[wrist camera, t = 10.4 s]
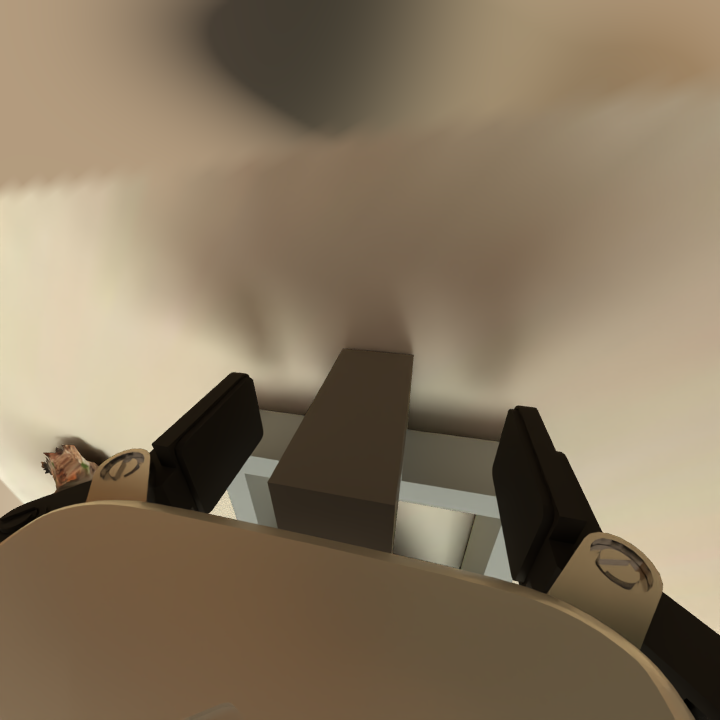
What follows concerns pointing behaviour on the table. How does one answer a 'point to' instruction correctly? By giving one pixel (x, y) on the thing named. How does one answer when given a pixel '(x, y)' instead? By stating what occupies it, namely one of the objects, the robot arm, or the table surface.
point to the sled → (368, 466)
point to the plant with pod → (68, 467)
